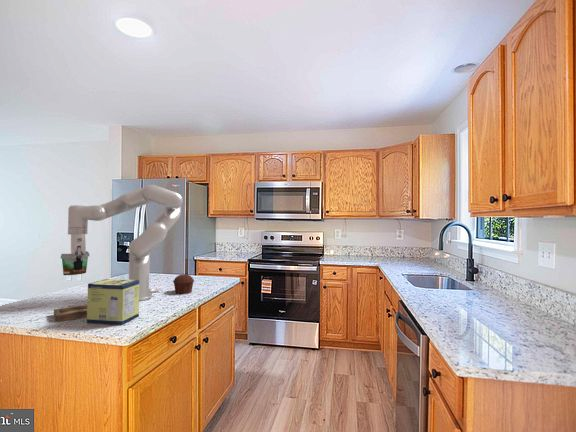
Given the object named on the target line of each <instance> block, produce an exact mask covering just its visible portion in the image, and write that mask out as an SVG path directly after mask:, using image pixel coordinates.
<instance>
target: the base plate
mask: <svg viewBox="0 0 576 432" xmlns="http://www.w3.org/2000/svg"><path fill="white" fill-rule="evenodd" d="M53 318H54V321H55V323H58V322H59V323H60V322H65V321H71V320H76V319H83V318H87V304H80V305H73V306H68V307H67V306H66V307H60V308H54V309H53Z"/></svg>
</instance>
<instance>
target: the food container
mask: <svg viewBox="0 0 576 432" xmlns="http://www.w3.org/2000/svg"><path fill="white" fill-rule="evenodd" d="M77 255H78V253H75V255H73V254H71V253H61V254H60V259H61V261H62V262H61V263H62V273H63V274H62V275H63V276H77V275H83V274H86V273H87V269H88V260H89V257H90V252H89V251H87V250H86V254H85V255H84V254H82V261H83V262H82V270H74V262H75V256H76V257H77Z"/></svg>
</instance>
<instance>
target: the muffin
mask: <svg viewBox="0 0 576 432" xmlns="http://www.w3.org/2000/svg"><path fill="white" fill-rule="evenodd" d="M194 281H195V280H194V278H193V277H192V276H191V275H190V274H186V273H185V274H183V273H182V274H179V275H177V276H176V277H175V278H174V280H172V284H174V293H175V294H176V295H187V294H191V293H192V290H193V285H194Z"/></svg>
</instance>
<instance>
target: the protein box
mask: <svg viewBox="0 0 576 432" xmlns="http://www.w3.org/2000/svg"><path fill="white" fill-rule="evenodd" d="M86 303H87V317H86V323H87V324H95V325H98V324H99V325H114V326H116V325H117V326H123V325H124V324H126V323H129V322H130V321H132V320H135V319H136V318H137V319H138V317H139V316H140V314H139V313H140V310H139V309H140V301H139V280H129V279H120V278H119V279H116V278H105V279H102V280H98V281H94V282H89V283H87V301H86Z"/></svg>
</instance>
